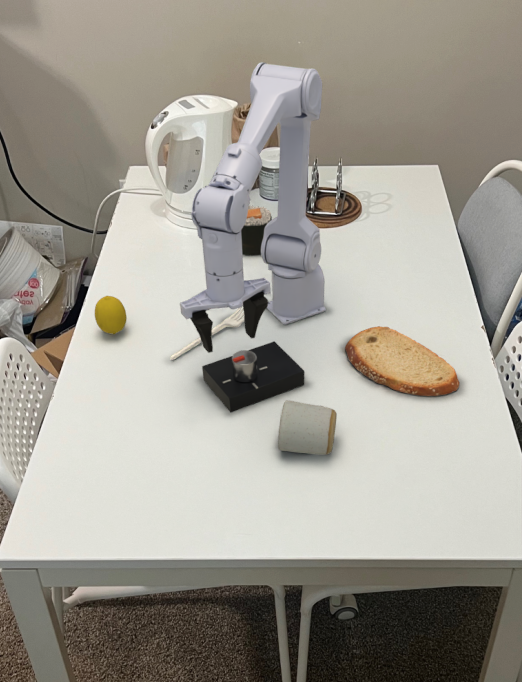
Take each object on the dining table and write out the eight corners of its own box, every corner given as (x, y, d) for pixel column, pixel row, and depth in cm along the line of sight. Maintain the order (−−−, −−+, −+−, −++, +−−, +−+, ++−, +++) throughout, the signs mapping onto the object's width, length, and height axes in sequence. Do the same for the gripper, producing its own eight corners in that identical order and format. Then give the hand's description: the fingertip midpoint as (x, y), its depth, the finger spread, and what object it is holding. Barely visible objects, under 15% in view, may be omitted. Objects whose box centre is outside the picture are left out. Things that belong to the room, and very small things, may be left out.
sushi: (270, 235, 165) (269, 201, 160) (274, 254, 159) (273, 219, 154) (233, 238, 165) (231, 204, 159) (236, 257, 159) (234, 222, 153)
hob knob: (250, 365, 125) (249, 345, 122) (261, 377, 122) (261, 358, 120) (228, 372, 123) (227, 353, 121) (240, 385, 121) (238, 366, 118)
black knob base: (274, 354, 132) (274, 340, 130) (304, 385, 126) (304, 370, 124) (203, 380, 127) (201, 365, 125) (230, 413, 120) (229, 398, 118)
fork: (165, 357, 132) (163, 349, 130) (242, 310, 143) (241, 301, 142) (177, 364, 130) (176, 356, 129) (255, 316, 141) (254, 307, 140)
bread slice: (463, 395, 123) (467, 377, 121) (355, 400, 122) (356, 382, 120) (439, 333, 137) (442, 316, 134) (342, 338, 136) (343, 321, 133)
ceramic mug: (331, 466, 111) (333, 426, 106) (277, 460, 112) (276, 421, 107) (338, 420, 119) (340, 382, 114) (287, 416, 120) (287, 377, 115)
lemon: (123, 344, 135) (115, 306, 130) (94, 340, 136) (85, 302, 130) (133, 327, 139) (127, 289, 134) (105, 324, 140) (98, 286, 134)
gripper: (190, 292, 106) (199, 368, 115) (279, 265, 111) (280, 341, 120) (170, 270, 110) (180, 346, 119) (257, 246, 116) (259, 320, 125)
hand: (229, 342), depth 120 cm, fingers open, 7 cm apart
